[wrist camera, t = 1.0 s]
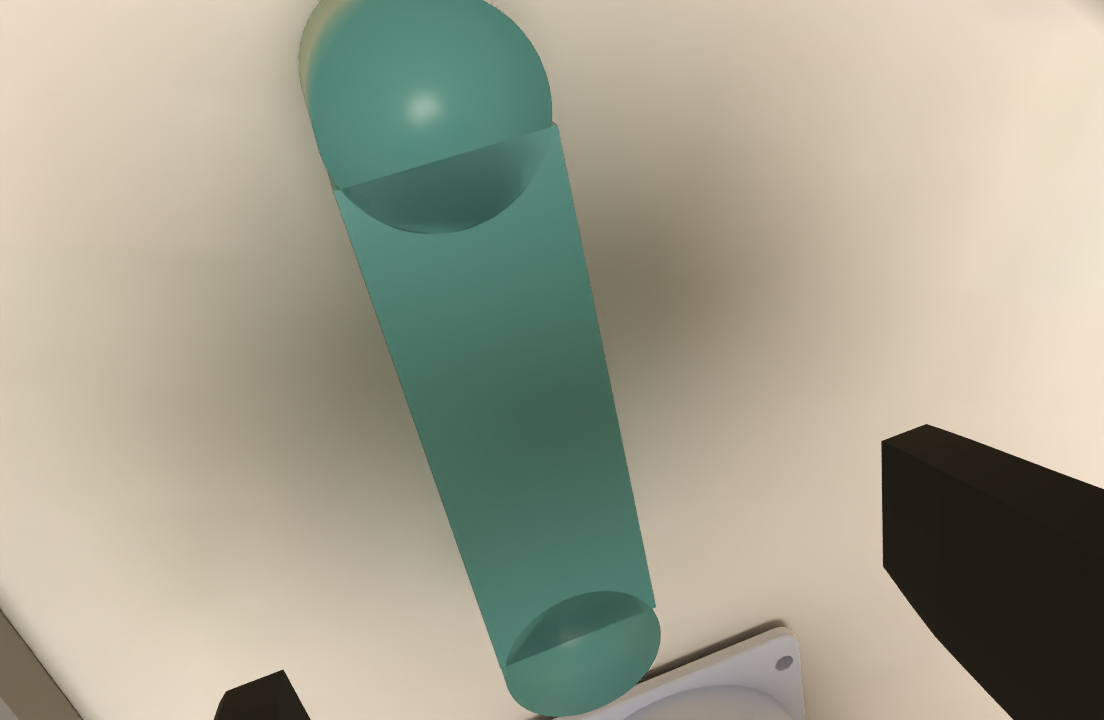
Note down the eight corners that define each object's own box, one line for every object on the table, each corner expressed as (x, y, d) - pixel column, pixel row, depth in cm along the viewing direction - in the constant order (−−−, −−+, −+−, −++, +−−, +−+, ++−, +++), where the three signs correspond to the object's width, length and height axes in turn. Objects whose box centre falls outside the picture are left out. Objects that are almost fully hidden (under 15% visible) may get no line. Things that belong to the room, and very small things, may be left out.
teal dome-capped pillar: (600, 550, 20) (671, 678, 17) (479, 596, 20) (524, 739, 16) (457, -51, 14) (523, -39, 10) (269, -3, 13) (275, 25, 10)
